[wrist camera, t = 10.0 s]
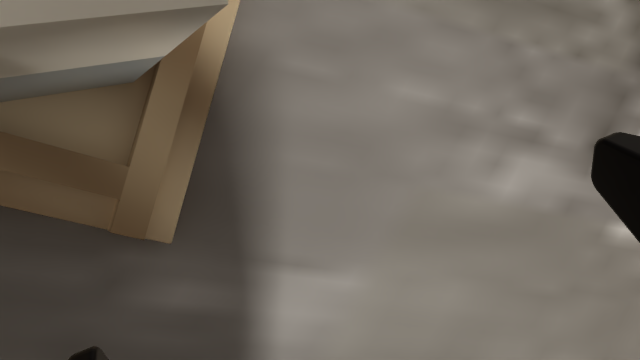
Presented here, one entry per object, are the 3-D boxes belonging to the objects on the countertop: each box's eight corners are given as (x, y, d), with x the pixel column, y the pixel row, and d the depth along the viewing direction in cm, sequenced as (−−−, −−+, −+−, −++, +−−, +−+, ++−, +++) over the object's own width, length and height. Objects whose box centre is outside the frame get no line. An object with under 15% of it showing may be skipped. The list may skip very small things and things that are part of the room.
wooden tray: (163, 239, 20) (176, 247, 18) (-253, 144, 15) (-292, 142, 13) (249, -62, 21) (269, -83, 19) (-117, -239, 16) (-136, -288, 14)
